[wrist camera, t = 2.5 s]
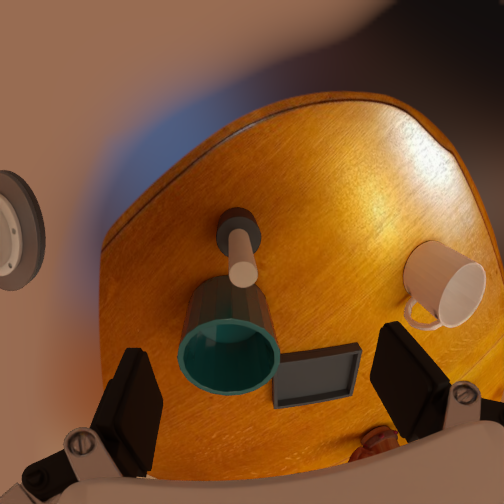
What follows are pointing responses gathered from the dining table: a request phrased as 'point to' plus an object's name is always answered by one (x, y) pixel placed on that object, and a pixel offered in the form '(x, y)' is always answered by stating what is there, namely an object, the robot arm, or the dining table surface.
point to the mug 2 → (442, 285)
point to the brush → (239, 244)
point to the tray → (315, 375)
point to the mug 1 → (376, 443)
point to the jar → (228, 339)
